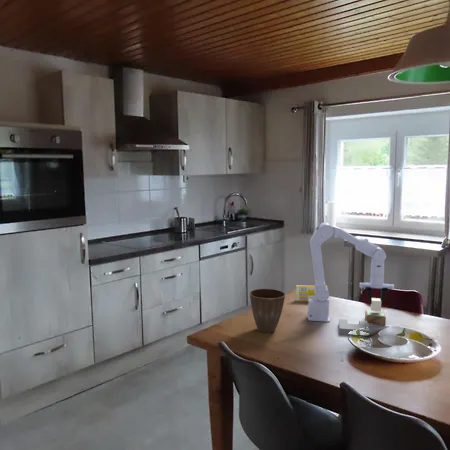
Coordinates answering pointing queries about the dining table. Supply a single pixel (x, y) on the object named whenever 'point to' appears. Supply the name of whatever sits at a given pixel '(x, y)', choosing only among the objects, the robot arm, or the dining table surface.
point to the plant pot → (267, 308)
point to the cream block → (376, 304)
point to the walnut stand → (375, 317)
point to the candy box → (304, 292)
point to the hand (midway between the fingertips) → (375, 304)
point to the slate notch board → (352, 326)
